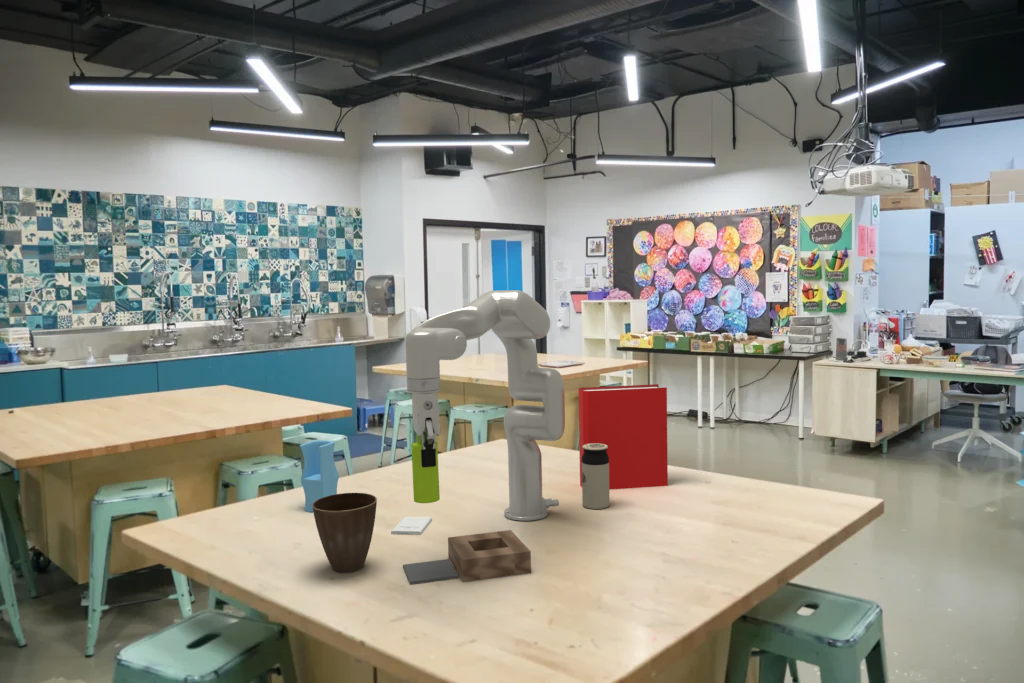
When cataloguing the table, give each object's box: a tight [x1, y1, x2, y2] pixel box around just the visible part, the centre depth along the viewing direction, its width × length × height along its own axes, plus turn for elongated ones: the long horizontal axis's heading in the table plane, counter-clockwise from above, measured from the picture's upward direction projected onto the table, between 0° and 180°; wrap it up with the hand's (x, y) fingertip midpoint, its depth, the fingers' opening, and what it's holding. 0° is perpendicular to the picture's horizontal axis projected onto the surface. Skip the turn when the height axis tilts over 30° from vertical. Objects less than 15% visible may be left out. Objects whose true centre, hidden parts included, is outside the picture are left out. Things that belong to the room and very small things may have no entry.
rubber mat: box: [402, 558, 459, 585], centre depth 176 cm, size 11×11×1 cm
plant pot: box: [312, 492, 378, 574], centre depth 180 cm, size 15×15×16 cm
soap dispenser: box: [410, 425, 441, 504], centre depth 174 cm, size 6×7×20 cm
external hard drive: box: [390, 516, 433, 536], centre depth 209 cm, size 2×8×12 cm
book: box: [578, 383, 669, 491], centre depth 246 cm, size 27×8×32 cm, turn 98°
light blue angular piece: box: [299, 439, 340, 513], centre depth 228 cm, size 8×8×20 cm
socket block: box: [447, 529, 532, 582], centre depth 179 cm, size 16×16×5 cm
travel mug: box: [581, 443, 611, 510], centre depth 224 cm, size 8×8×18 cm
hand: (426, 462), depth 174 cm, fingers closed on soap dispenser, 5 cm apart
